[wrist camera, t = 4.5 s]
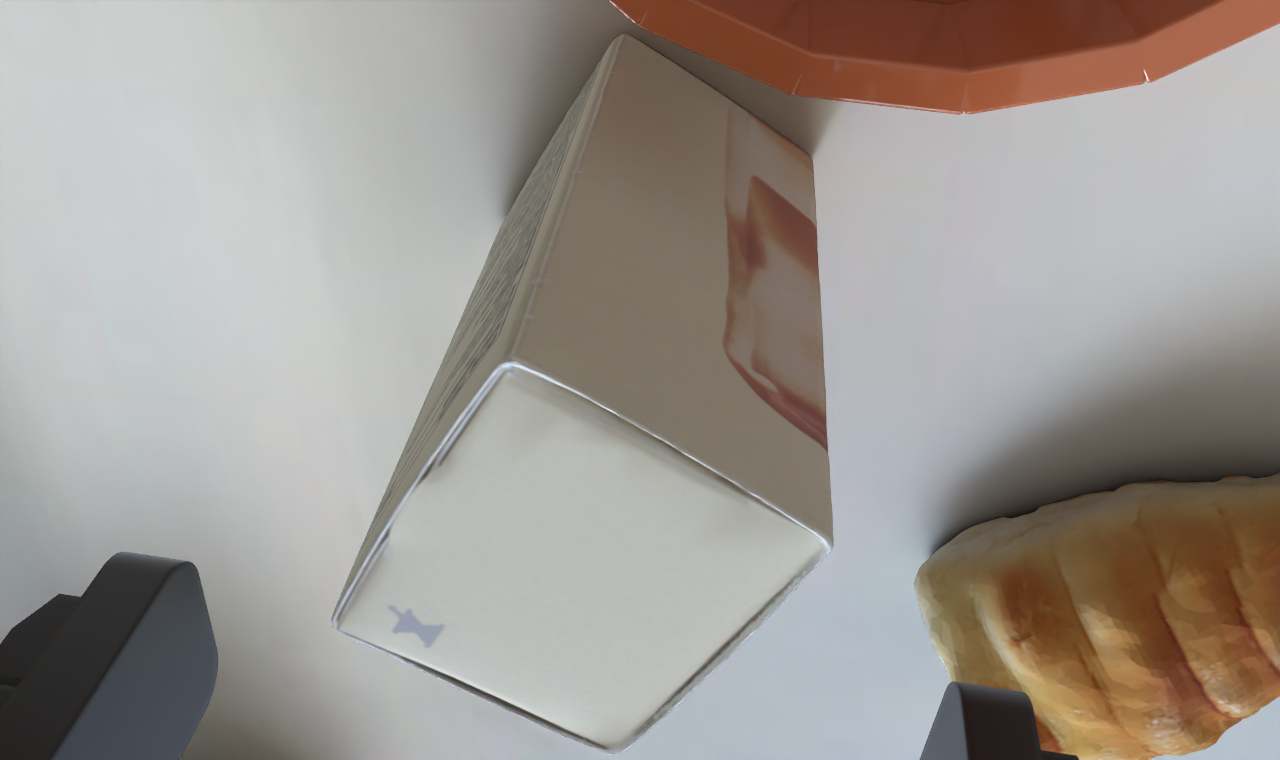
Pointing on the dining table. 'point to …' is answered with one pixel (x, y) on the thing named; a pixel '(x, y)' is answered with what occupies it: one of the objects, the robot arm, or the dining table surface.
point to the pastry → (1119, 613)
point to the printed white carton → (616, 421)
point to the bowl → (952, 45)
